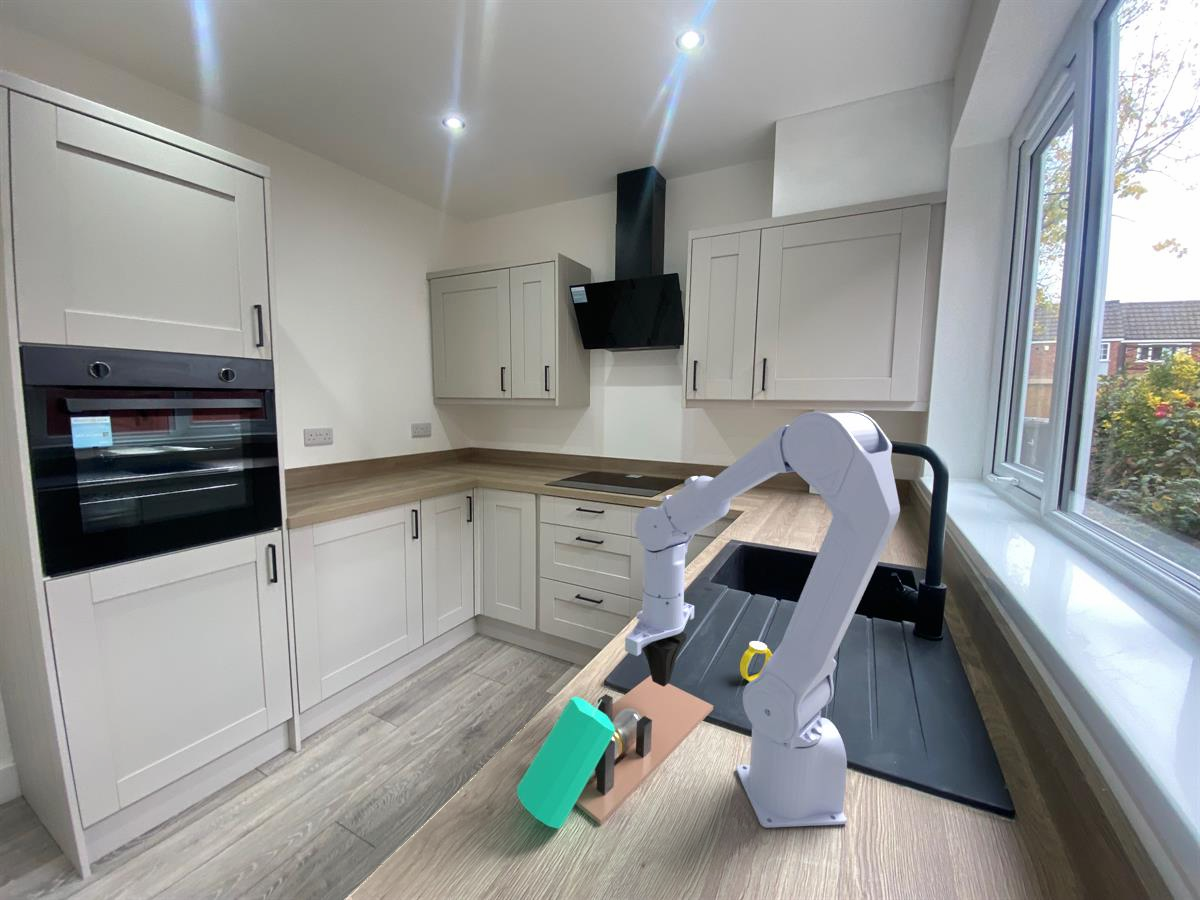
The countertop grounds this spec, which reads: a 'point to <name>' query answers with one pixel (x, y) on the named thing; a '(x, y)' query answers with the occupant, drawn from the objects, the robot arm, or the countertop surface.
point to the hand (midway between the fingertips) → (660, 681)
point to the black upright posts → (607, 760)
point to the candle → (565, 762)
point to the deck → (670, 727)
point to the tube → (622, 733)
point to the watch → (753, 648)
